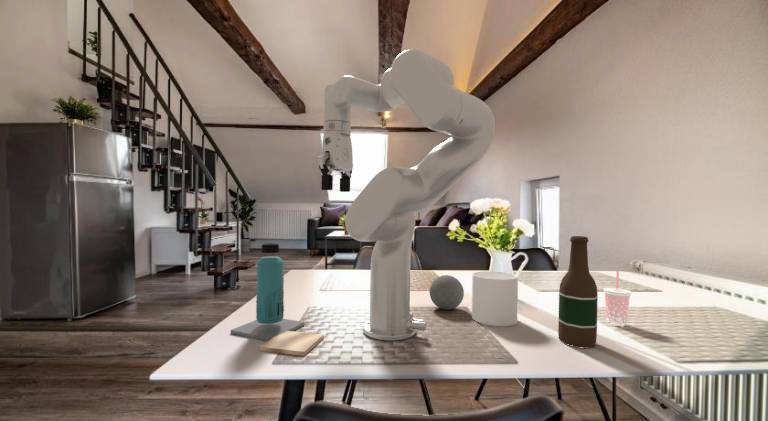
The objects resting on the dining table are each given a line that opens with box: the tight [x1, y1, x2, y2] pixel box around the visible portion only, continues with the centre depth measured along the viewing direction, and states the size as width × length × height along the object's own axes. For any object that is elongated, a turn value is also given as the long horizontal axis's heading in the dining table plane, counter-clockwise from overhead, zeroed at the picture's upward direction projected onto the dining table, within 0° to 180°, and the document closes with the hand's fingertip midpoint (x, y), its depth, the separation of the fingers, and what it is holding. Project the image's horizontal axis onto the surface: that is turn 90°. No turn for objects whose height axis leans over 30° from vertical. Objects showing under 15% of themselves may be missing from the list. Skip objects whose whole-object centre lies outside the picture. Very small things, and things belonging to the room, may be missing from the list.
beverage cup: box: [603, 270, 632, 325], centre depth 94 cm, size 6×6×14 cm
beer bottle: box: [558, 235, 599, 348], centre depth 80 cm, size 8×8×24 cm
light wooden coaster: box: [259, 330, 325, 357], centre depth 77 cm, size 10×10×1 cm
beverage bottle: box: [255, 242, 285, 324], centre depth 86 cm, size 6×7×20 cm
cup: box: [471, 271, 519, 328], centre depth 96 cm, size 12×12×12 cm
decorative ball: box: [429, 274, 465, 311], centre depth 105 cm, size 10×10×10 cm
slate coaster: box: [230, 318, 305, 342], centre depth 86 cm, size 12×12×1 cm
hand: (336, 190), depth 100 cm, fingers open, 9 cm apart
